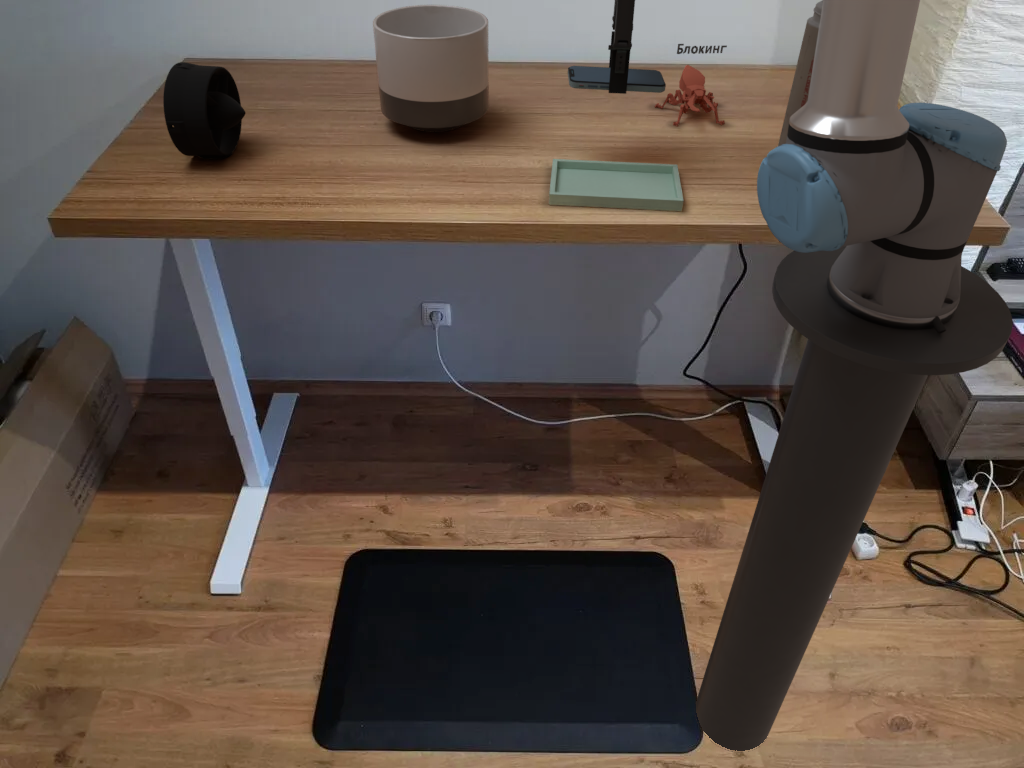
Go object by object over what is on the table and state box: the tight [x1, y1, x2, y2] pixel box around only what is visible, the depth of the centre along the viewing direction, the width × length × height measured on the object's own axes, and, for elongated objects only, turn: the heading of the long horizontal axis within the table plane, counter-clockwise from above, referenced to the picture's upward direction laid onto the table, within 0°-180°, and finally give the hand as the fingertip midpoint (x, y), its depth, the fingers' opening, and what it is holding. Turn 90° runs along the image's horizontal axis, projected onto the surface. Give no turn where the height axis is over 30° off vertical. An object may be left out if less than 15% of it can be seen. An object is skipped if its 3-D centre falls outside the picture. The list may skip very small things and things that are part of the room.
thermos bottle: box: [777, 0, 823, 147], centre depth 125 cm, size 8×8×28 cm
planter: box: [372, 4, 490, 133], centre depth 140 cm, size 19×19×18 cm
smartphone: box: [567, 65, 667, 94], centre depth 127 cm, size 8×2×15 cm
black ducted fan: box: [162, 61, 247, 160], centre depth 130 cm, size 14×14×10 cm
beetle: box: [654, 43, 728, 127], centre depth 146 cm, size 15×12×13 cm
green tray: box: [548, 158, 684, 212], centre depth 126 cm, size 13×20×2 cm, turn 85°
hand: (617, 83), depth 127 cm, fingers closed on smartphone, 8 cm apart
